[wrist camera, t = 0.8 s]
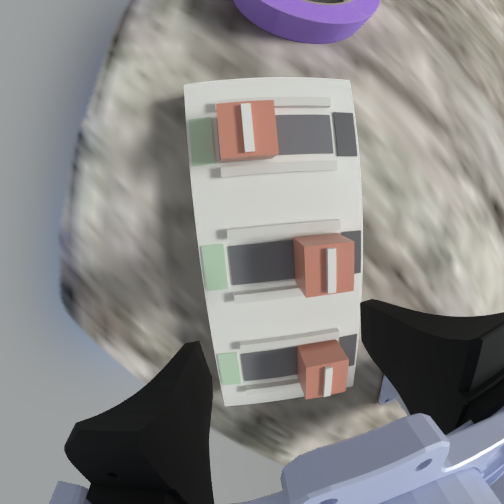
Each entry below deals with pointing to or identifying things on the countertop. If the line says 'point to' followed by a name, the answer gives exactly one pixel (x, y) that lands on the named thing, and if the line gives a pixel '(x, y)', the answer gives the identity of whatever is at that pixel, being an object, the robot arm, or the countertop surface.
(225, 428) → the countertop surface
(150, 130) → the countertop surface
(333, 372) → the switch
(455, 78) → the countertop surface
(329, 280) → the switch mid
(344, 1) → the masking tape
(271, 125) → the switch
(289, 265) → the switch strip
